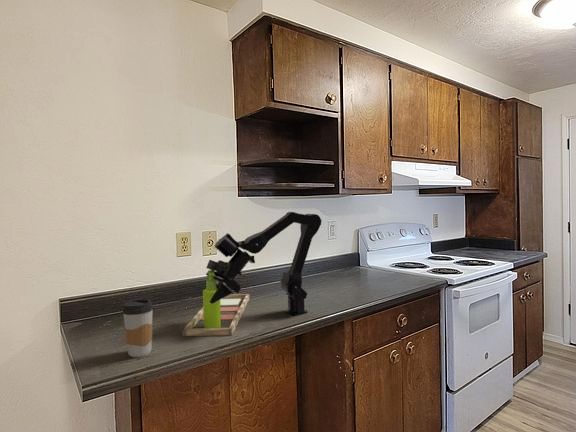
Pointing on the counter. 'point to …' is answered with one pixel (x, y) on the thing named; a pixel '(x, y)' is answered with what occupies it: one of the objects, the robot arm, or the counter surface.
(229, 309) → the mats
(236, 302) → the pad
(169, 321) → the counter surface
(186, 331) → the frame
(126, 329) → the coffee cup
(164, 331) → the counter surface
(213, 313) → the soap dispenser
